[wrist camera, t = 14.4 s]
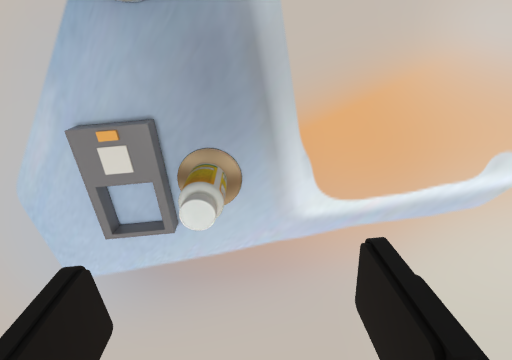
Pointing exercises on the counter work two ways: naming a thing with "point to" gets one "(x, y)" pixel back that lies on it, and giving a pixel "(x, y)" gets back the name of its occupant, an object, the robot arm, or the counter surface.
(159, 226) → the gray rectangular fixture
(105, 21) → the counter surface
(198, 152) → the cork coaster
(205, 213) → the supplement bottle
